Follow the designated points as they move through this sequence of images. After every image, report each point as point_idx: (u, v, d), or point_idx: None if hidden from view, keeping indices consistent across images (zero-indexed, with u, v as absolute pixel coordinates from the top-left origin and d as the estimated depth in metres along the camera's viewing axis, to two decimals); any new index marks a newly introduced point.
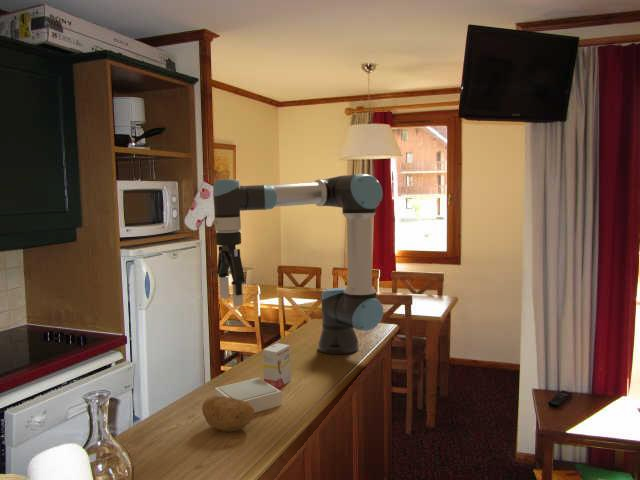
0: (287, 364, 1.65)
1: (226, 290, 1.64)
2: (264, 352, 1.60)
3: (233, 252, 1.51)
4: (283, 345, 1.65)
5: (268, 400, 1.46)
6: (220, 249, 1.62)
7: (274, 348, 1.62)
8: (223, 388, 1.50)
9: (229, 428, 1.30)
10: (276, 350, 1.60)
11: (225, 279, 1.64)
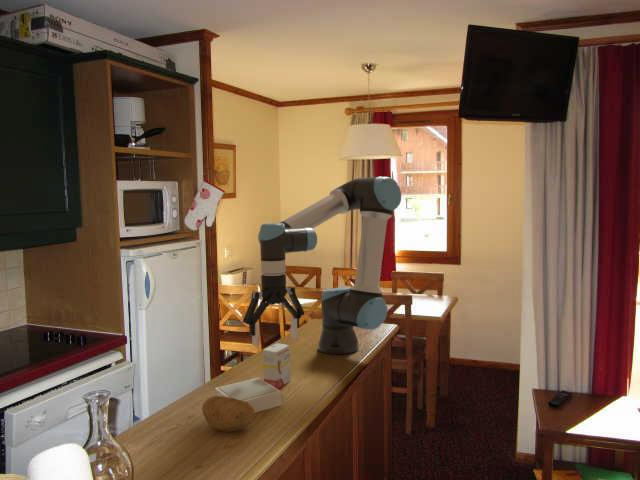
0: (287, 364, 1.65)
1: (293, 331, 1.66)
2: (264, 352, 1.60)
3: (252, 294, 1.58)
4: (283, 345, 1.65)
5: (268, 400, 1.46)
6: None
7: (274, 348, 1.62)
8: (223, 388, 1.50)
9: (229, 428, 1.30)
10: (276, 350, 1.60)
11: (293, 320, 1.65)
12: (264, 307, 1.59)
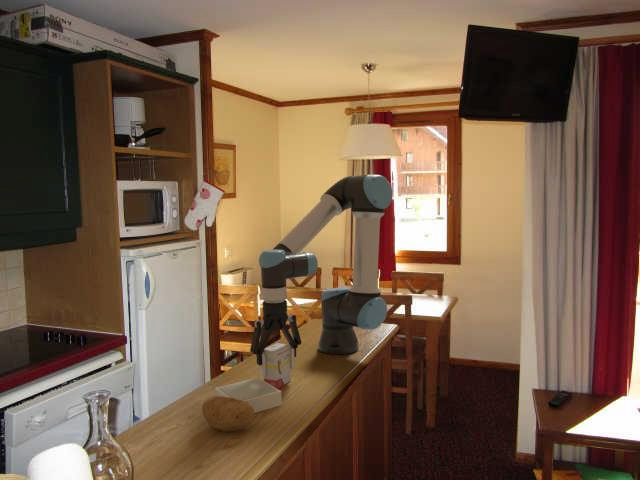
0: (287, 364, 1.65)
1: (291, 361, 1.66)
2: (264, 352, 1.60)
3: (254, 323, 1.59)
4: (283, 345, 1.65)
5: (268, 400, 1.46)
6: None
7: (274, 348, 1.62)
8: (223, 388, 1.50)
9: (229, 428, 1.30)
10: (276, 350, 1.60)
11: (290, 350, 1.66)
12: (268, 335, 1.60)
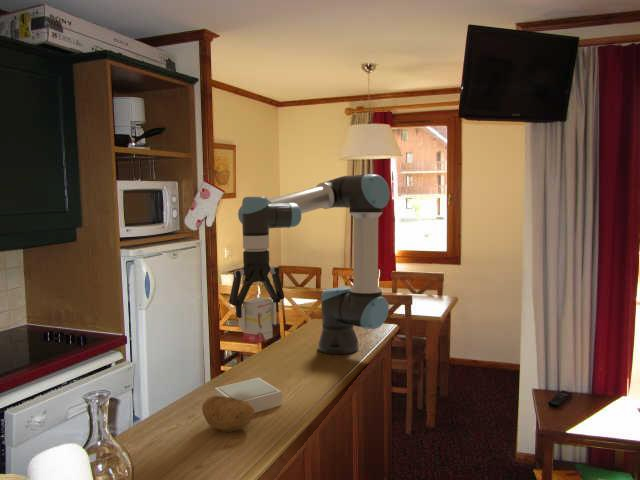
0: (268, 319, 1.55)
1: (272, 316, 1.56)
2: (244, 304, 1.51)
3: (233, 273, 1.50)
4: (265, 299, 1.56)
5: (268, 400, 1.46)
6: None
7: (255, 301, 1.53)
8: (223, 388, 1.50)
9: (229, 428, 1.30)
10: (256, 302, 1.51)
11: (272, 304, 1.56)
12: (248, 286, 1.51)
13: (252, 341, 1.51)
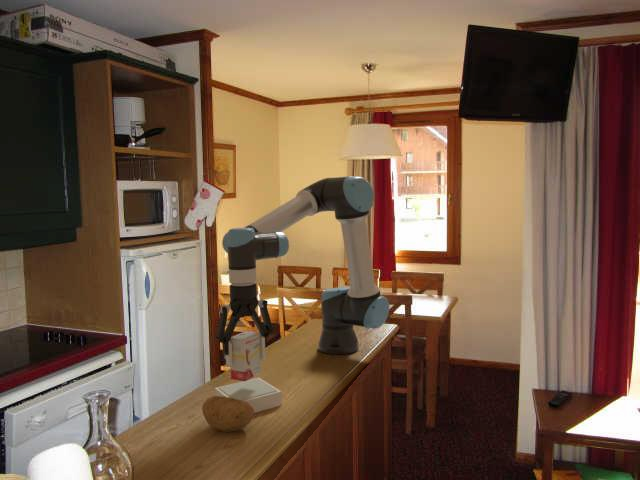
0: (257, 354, 1.49)
1: (261, 351, 1.51)
2: (231, 340, 1.45)
3: (220, 309, 1.44)
4: (253, 333, 1.50)
5: (268, 400, 1.46)
6: None
7: (242, 336, 1.47)
8: (223, 388, 1.50)
9: (229, 428, 1.30)
10: (244, 338, 1.45)
11: (260, 338, 1.50)
12: (235, 322, 1.45)
13: (240, 379, 1.45)
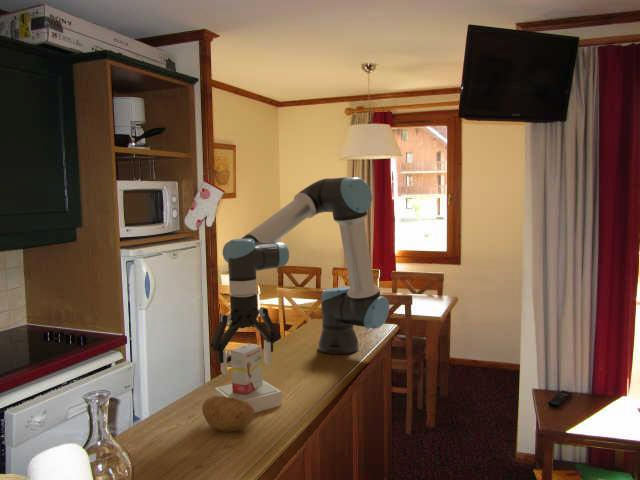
0: (258, 367, 1.50)
1: (267, 356, 1.52)
2: (232, 353, 1.46)
3: (220, 317, 1.44)
4: (254, 346, 1.51)
5: (268, 400, 1.46)
6: None
7: (244, 349, 1.48)
8: (223, 388, 1.50)
9: (229, 428, 1.30)
10: (245, 351, 1.46)
11: (266, 344, 1.52)
12: (233, 331, 1.45)
13: (241, 392, 1.46)
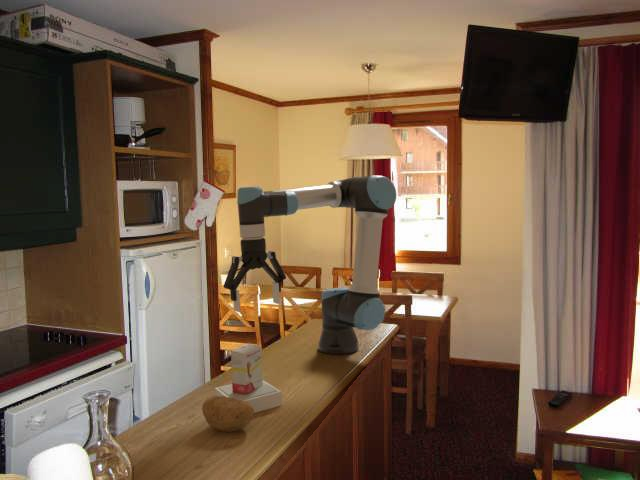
0: (258, 367, 1.50)
1: (275, 296, 1.64)
2: (232, 353, 1.46)
3: (232, 259, 1.56)
4: (254, 346, 1.51)
5: (268, 400, 1.46)
6: None
7: (244, 349, 1.48)
8: (223, 388, 1.50)
9: (229, 428, 1.30)
10: (245, 351, 1.46)
11: (275, 285, 1.64)
12: (244, 272, 1.57)
13: (241, 392, 1.46)
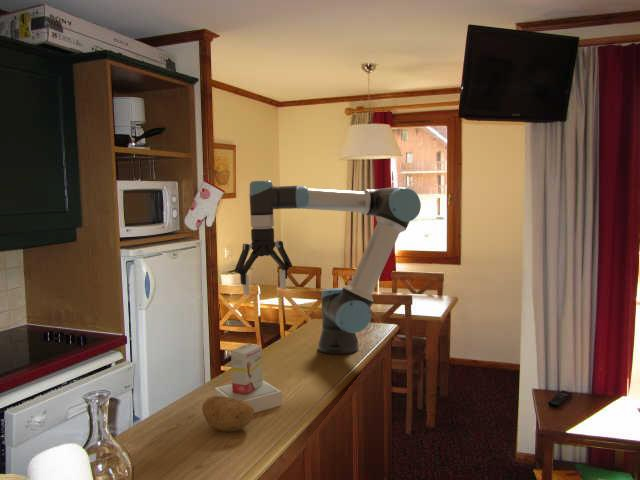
0: (258, 367, 1.50)
1: (282, 282, 1.78)
2: (232, 353, 1.46)
3: (243, 246, 1.71)
4: (254, 346, 1.51)
5: (268, 400, 1.46)
6: None
7: (244, 349, 1.48)
8: (223, 388, 1.50)
9: (229, 428, 1.30)
10: (245, 351, 1.46)
11: (281, 271, 1.78)
12: (254, 258, 1.71)
13: (241, 392, 1.46)
